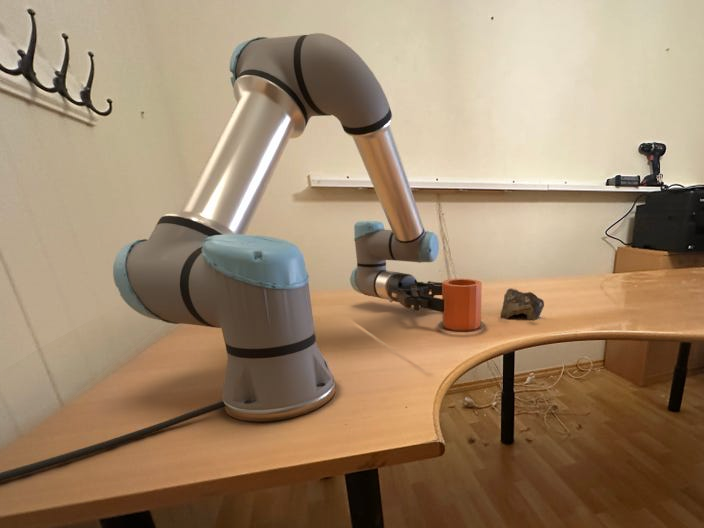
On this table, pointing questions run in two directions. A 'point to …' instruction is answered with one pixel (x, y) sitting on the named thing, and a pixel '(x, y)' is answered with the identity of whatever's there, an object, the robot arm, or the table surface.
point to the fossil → (521, 304)
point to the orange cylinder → (461, 304)
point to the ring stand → (460, 330)
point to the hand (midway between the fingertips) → (462, 300)
